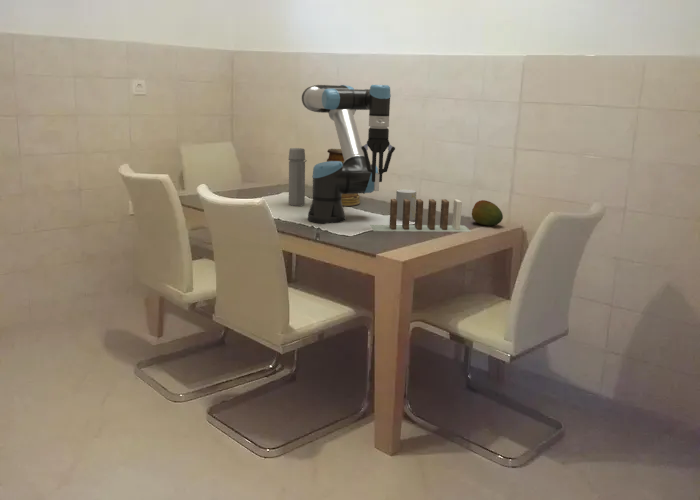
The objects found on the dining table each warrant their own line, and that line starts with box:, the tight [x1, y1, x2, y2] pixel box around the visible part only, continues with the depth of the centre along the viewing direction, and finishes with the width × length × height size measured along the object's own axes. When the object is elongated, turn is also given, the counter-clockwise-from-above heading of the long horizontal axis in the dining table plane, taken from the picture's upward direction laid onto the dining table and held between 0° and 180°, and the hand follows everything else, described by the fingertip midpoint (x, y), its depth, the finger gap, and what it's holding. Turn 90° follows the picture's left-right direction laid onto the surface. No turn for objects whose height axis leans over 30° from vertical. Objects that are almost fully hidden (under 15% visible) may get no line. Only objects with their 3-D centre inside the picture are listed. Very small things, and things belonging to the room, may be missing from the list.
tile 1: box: [389, 198, 398, 230], centre depth 261 cm, size 2×5×11 cm, turn 6°
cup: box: [395, 188, 418, 222], centre depth 279 cm, size 8×8×12 cm
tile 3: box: [414, 198, 424, 230], centre depth 262 cm, size 2×5×11 cm, turn 6°
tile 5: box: [439, 199, 450, 230], centre depth 263 cm, size 2×5×11 cm, turn 6°
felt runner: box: [369, 224, 472, 233], centre depth 264 cm, size 38×11×1 cm, turn 96°
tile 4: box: [426, 198, 437, 230], centre depth 263 cm, size 2×5×11 cm, turn 6°
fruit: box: [471, 199, 504, 227], centre depth 273 cm, size 12×13×10 cm
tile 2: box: [401, 199, 410, 230], centre depth 262 cm, size 2×5×11 cm, turn 6°
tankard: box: [326, 148, 364, 207], centre depth 310 cm, size 18×24×25 cm
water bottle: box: [288, 147, 307, 207], centre depth 301 cm, size 9×8×25 cm
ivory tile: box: [451, 199, 463, 230], centre depth 264 cm, size 2×5×11 cm, turn 6°
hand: (376, 190), depth 258 cm, fingers closed
